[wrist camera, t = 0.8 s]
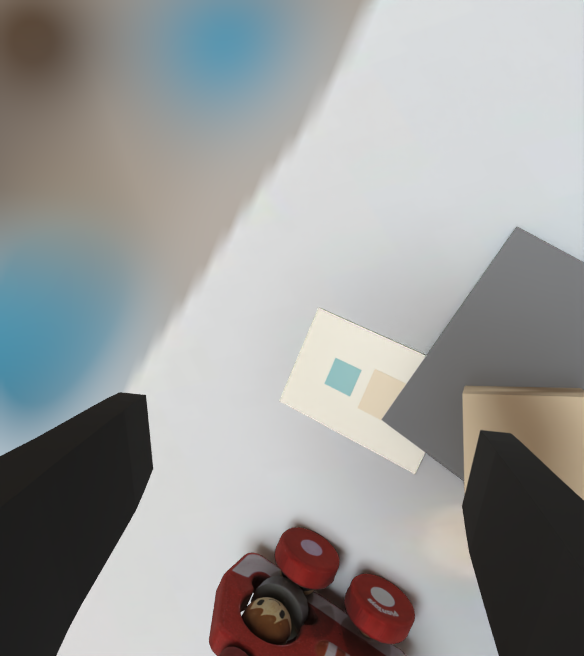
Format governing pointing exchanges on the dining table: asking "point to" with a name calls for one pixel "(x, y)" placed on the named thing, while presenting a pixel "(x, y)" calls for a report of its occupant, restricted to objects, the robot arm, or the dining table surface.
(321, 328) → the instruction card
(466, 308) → the mat
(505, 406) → the base block
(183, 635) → the dining table surface
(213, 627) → the toy fire truck
